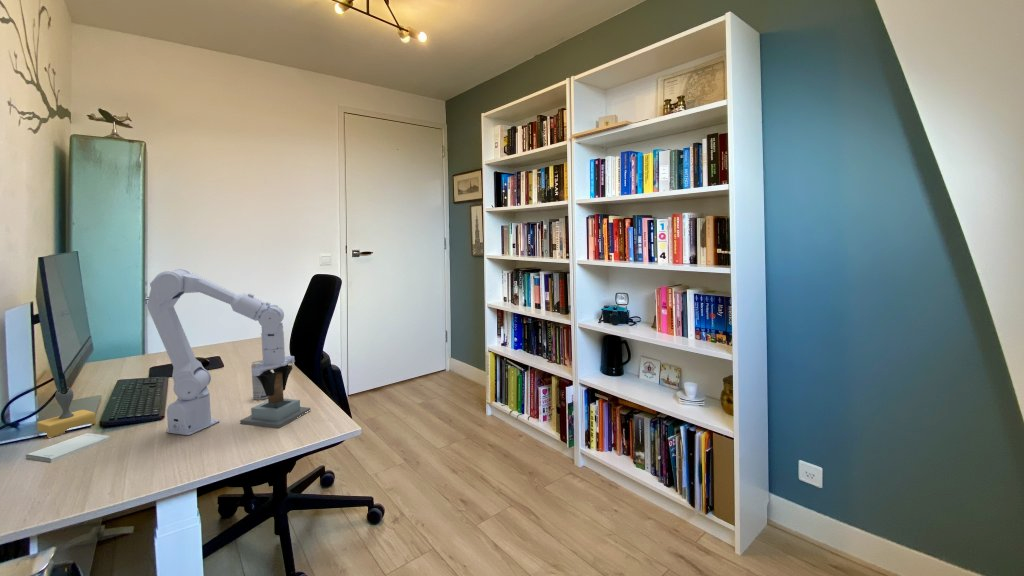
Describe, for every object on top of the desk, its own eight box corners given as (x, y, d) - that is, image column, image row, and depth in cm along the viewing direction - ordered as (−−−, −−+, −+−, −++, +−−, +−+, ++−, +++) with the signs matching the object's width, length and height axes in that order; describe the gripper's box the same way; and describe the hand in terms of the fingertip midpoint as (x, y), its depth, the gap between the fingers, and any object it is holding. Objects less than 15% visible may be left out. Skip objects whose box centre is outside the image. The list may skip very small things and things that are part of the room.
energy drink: (275, 394, 148) (273, 360, 147) (264, 400, 143) (262, 364, 142) (260, 394, 149) (258, 359, 147) (249, 399, 143) (247, 364, 142)
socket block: (279, 428, 122) (278, 414, 121) (240, 423, 125) (239, 410, 124) (310, 410, 134) (309, 398, 134) (274, 407, 137) (273, 394, 137)
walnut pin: (276, 403, 126) (275, 376, 126) (265, 402, 127) (263, 375, 127) (286, 398, 130) (285, 372, 130) (275, 397, 131) (274, 371, 130)
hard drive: (50, 458, 102) (110, 435, 114) (25, 454, 104) (86, 432, 116) (51, 465, 102) (110, 441, 114) (25, 460, 104) (86, 438, 116)
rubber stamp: (49, 439, 114) (44, 394, 113) (37, 435, 116) (32, 391, 115) (96, 424, 123) (92, 383, 122) (84, 421, 126) (80, 380, 124)
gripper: (265, 354, 119) (268, 402, 121) (302, 342, 133) (304, 385, 135) (244, 352, 121) (246, 400, 122) (282, 341, 135) (284, 384, 136)
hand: (275, 392), depth 129 cm, fingers closed on walnut pin, 4 cm apart
